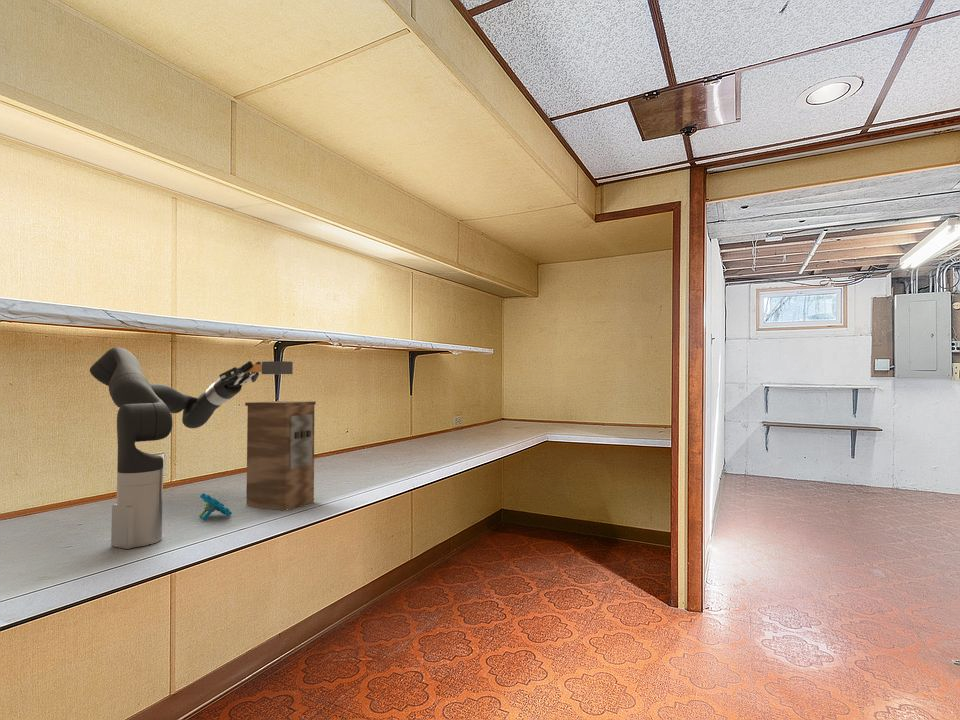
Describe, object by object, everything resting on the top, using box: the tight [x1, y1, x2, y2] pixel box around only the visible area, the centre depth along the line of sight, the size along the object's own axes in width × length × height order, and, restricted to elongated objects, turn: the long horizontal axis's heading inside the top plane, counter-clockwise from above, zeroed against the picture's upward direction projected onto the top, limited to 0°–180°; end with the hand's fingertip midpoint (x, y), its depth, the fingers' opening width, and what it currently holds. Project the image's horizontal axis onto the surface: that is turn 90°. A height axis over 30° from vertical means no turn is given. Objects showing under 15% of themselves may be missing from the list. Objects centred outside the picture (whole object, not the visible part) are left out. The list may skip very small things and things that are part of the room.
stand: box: [244, 400, 317, 511], centre depth 158 cm, size 13×18×32 cm
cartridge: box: [241, 360, 294, 375], centre depth 162 cm, size 5×18×4 cm, turn 66°
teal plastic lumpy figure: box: [198, 492, 233, 522], centre depth 140 cm, size 11×6×10 cm
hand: (255, 363), depth 164 cm, fingers closed on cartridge, 3 cm apart
